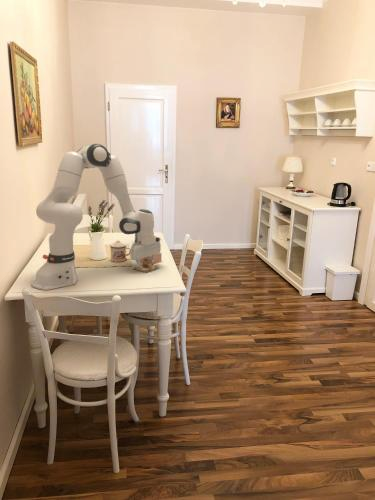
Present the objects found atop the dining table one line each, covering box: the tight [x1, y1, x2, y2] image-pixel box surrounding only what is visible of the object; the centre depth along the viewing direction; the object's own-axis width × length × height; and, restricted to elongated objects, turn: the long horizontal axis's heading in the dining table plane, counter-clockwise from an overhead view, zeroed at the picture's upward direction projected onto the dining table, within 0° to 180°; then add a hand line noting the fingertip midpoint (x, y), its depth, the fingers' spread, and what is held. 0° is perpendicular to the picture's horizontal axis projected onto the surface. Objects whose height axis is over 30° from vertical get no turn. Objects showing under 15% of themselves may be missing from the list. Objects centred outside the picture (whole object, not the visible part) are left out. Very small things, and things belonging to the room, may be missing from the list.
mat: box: [132, 266, 160, 274], centre depth 221 cm, size 10×10×1 cm
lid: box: [136, 259, 156, 272], centre depth 220 cm, size 10×10×5 cm
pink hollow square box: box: [140, 252, 162, 265], centre depth 233 cm, size 10×10×5 cm
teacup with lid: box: [110, 239, 131, 263], centre depth 234 cm, size 12×9×12 cm
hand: (145, 264), depth 220 cm, fingers open, 8 cm apart
